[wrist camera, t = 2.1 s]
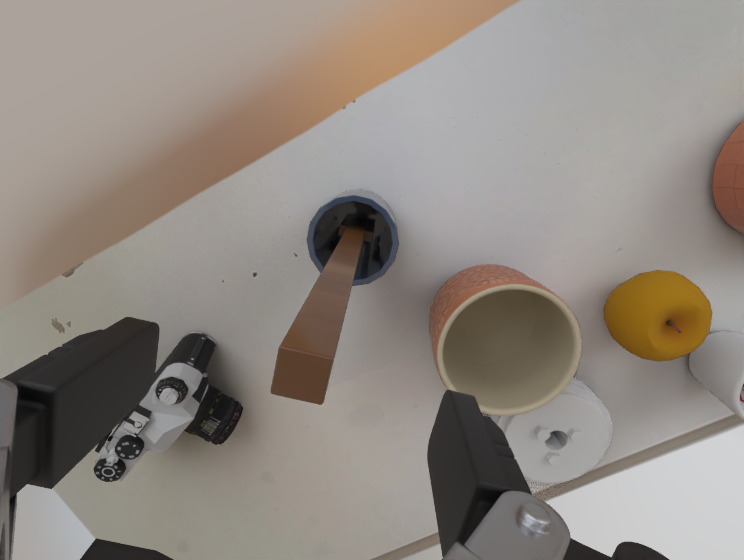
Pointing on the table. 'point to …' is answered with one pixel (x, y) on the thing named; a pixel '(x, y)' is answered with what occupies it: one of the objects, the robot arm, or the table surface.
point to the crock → (373, 254)
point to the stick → (320, 321)
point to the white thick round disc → (559, 435)
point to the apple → (658, 315)
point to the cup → (721, 368)
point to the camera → (171, 411)
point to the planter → (503, 339)
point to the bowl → (731, 180)
